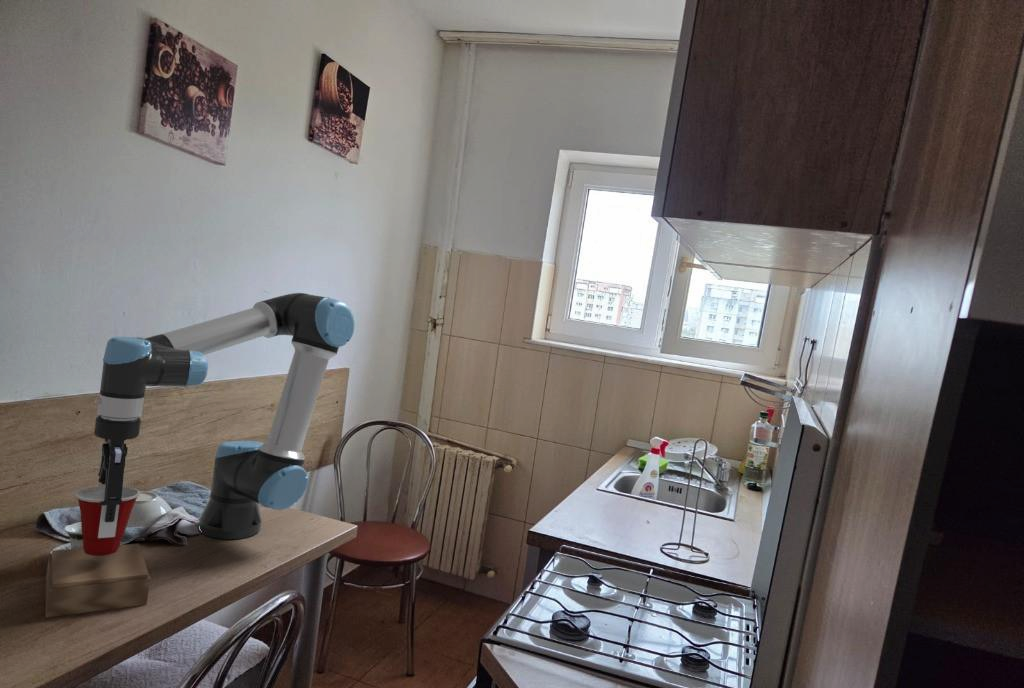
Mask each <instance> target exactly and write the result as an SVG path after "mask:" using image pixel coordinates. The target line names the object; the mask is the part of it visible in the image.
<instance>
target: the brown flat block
mask: <svg viewBox="0 0 1024 688" xmlns="http://www.w3.org/2000/svg"><path fill="white" fill-rule="evenodd" d="M147 566H148V565H147V564H146V561H145V556H144V554H143V550H142V547H141V545H140V543H130V544H120V546H119V548H118V550H117V551H116V552H115V553H112V554H110V555H105V556H91V555H88V554H86V553H85V552H84V549H83V547H82V548H69V549H66V548H65V549H57V550H52V551H51V553H49V554H48V560H47V567H46V576H45V618H53V617H54V618H56V617H60V616H61V617H62V616H69V615H76V614H77V615H78V614H85V613H92V612H99V611H107V610H114V609H115V610H116V609H123V608H131V607H138V606H145V605H146V604H148V599H149V591H150V585H151V584H150V583H151V577H150V574H149V571H148V567H147Z"/></svg>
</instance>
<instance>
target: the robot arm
mask: <svg viewBox="0 0 1024 688" xmlns="http://www.w3.org/2000/svg"><path fill="white" fill-rule="evenodd" d="M354 332H355V316H354V314H352V310H351V308H350V307H349V305H347V304H346V303H345V302H344V301H341V300H337V299H336V298H333V297H327V296H321V295H314V294H309V293H303V292H295V293H293V292H292V293H288V294H284V295H279V296H276V297H272V298H269V299H265V300H262V301H261V300H260V301H258V302H256V303H255V304H254V305H253V307H252V308H247V309H246V310H245V309H244V310H241V311H237V312H234V313H230V314H227V315H223V316H220V317H217V318H213V319H210V320H206V321H203V322H199V323H195V324H193V325H189V326H185V327H182V328H179V329H175V330H171V331H168V332H164V333H160V334H156V335H152V336H149V337H145V338H143V337H139V336H136V337H134V336H130V337H127V336H114V337H111V338H109V339H108V341H106V345H105V346H106V347H105V350H104V355H103V359H102V363H103V364H102V373H101V379H100V380H101V381H100V387H99V397H98V398H95V399H94V403H95V404H97V412H96V413H97V414H98V416H97V417H95V422H94V431H93V433H94V436H96V437H97V438H98V439H99V438H100V439H102V440H103V439H104V443H102V444H101V459H100V460H101V461H100V465H99V472H98V474H97V476H98V477H99V478H98V485H97V487H101V486H105V495H104V501H101V502H100V503H99V506H101V505H102V510H101V517H100V525H99V532H98V538H107V537H115V533H116V525H117V518H118V511H119V505H121V503H122V500H121V498H122V488H123V487H124V478H125V467H126V458H127V455H128V446H127V443H125V441H127V440H133V439H136V438H137V437H139V435H140V430H141V422H142V420H141V419H140V417H142V416H143V410H144V404H145V395H146V394H145V393H146V388H147V387H183V388H186V387H193V386H198V385H201V384H203V382H204V381H205V380H206V379H207V376H208V371H209V363H208V360H207V358H206V355H208V354H211V353H214V352H218V351H221V350H224V349H227V348H230V347H233V346H236V345H240V344H243V343H245V342H249V341H252V340H254V339H255V340H256V339H257V338H261V337H264V338H267V339H270V338H274V337H276V336H292V338H291V341H290V342H291V344H292V346H293V348H294V353H293V356H292V358H291V359H292V360H291V361H290V362H291V363H290V366H289V369H288V373H287V375H286V377H285V378H286V379H285V382H284V385H283V388H282V391H281V395H280V397H279V398H280V399H279V402H278V405H277V407H276V411H275V414H274V418H273V421H272V422H271V423H272V424H271V427H270V431H269V433H268V437H267V439H266V442H260V441H254V440H233V441H232V440H231V441H226V442H223V443H221V444H219V445H218V446H217V448H216V453H215V456H214V465H213V473H212V479H211V480H212V481H211V485H210V486H211V488H210V495H209V499H208V501H207V503H206V506H205V507H204V509H203V511H202V513H201V515H200V517H199V520H198V525H199V526H200V529H201V531H202V533H203V535H204V536H207V537H210V538H214V539H219V540H220V539H221V540H237V539H238V540H239V539H245V538H249V536H250V537H252V535H253V536H255V535H257V534H258V533H259V532H260V531H261V529H262V523H263V522H262V515H261V510H260V506H262V507H263V508H268V509H271V510H273V511H274V510H275V511H282V510H283V511H284V510H286V509H289V508H291V507H293V506H294V504H295V503H298V502H299V501H300V499H302V497H303V496H304V494H305V492H306V490H307V488H308V484H309V476H308V473H307V471H306V469H305V468H304V463H305V461H306V456H305V455H304V453H303V450H302V448H303V446H304V443H305V440H306V436H307V433H308V429H309V427H310V423H311V420H312V416H313V413H314V411H315V406H316V403H317V399H318V397H319V393H320V390H321V387H322V383H323V379H324V377H325V373H326V371H327V367H328V363H329V360H330V359H331V358H334V357H335V356H337V354H338V352H339V349H340V348H341V347H343V346H345V345H347V343H348V342H350V341H351V339H352V337H353V335H354ZM115 497H116V498H115ZM202 533H201V534H202ZM256 533H257V534H256Z"/></svg>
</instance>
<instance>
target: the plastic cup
mask: <svg viewBox="0 0 1024 688" xmlns="http://www.w3.org/2000/svg"><path fill="white" fill-rule="evenodd" d="M104 495H105V486H101V487H98V486H95V487H88V488H83V489H80V490H78V491H76V492H75V497H76V499H77V501H78V505H79V510H80V525H81V537H82V545H83V546H82V548H83V549H84V552H85V553H86V554H88V555H91V556H105V555H110V554H112V553H115V552H116V551H117V550H118V548H119V546H120V545H121V543H122V540H123V536H124V534H125V532H126V528H127V526H128V523H129V519H130V518H131V517H130V516H131V515H132V514H131V513H132V510H133V508H134V506H135V503H136V501H137V498H138V497H139V496H140V495H141V492H140V490H139V489H137V488H134V487H128V486H123V488H122V498H121V500H122V503H121V505H119V511H118V518H117V525H116V533H115V537H107V538H98V532H99V525H100V517H101V510H102V505H101V506H99V503H100V502H101V501H104ZM115 498H116V497H115Z"/></svg>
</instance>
